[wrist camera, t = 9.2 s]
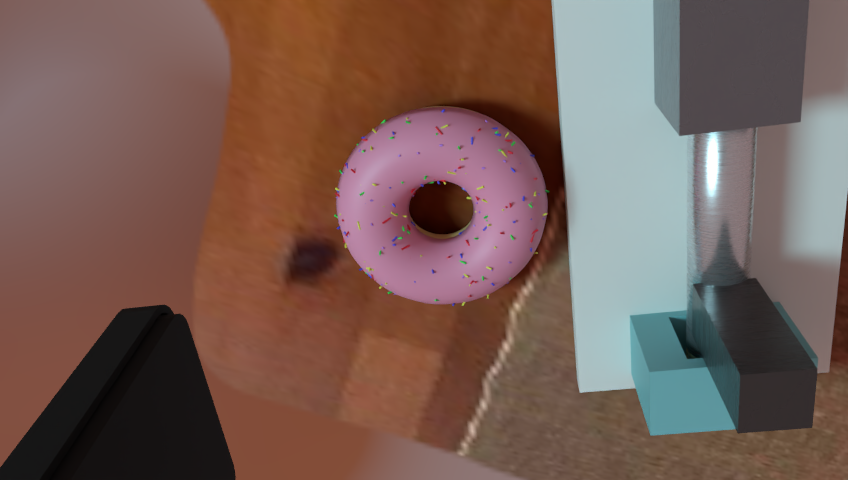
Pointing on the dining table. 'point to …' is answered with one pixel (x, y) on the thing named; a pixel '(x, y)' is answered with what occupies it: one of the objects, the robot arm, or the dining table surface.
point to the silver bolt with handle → (738, 293)
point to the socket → (679, 376)
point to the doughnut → (444, 161)
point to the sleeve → (729, 63)
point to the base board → (667, 184)
